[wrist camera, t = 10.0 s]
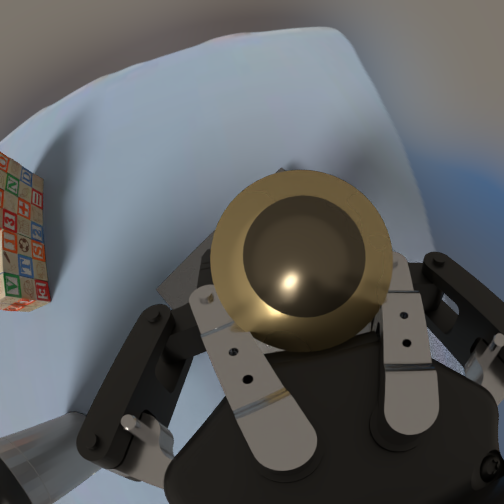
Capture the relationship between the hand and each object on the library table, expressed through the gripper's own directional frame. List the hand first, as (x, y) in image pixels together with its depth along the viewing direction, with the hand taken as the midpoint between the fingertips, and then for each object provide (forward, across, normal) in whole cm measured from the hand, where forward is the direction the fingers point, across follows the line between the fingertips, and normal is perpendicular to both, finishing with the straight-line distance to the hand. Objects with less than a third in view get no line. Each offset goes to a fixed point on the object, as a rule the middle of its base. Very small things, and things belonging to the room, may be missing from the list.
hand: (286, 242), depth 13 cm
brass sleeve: (+2, 0, -4) cm, 5 cm away
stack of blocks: (+19, -37, -4) cm, 42 cm away
